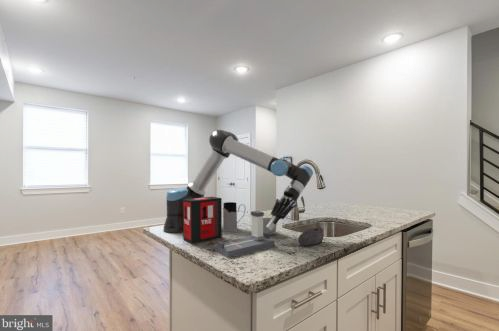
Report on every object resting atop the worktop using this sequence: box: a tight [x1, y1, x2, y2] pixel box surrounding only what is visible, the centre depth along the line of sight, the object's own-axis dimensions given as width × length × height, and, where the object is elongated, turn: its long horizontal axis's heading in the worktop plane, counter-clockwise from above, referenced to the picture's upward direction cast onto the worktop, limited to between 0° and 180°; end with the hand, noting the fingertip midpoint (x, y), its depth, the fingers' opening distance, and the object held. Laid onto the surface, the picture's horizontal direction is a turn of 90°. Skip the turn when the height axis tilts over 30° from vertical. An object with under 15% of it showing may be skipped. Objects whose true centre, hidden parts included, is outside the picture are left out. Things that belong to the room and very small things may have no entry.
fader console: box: [213, 232, 276, 258], centre depth 108 cm, size 12×24×4 cm, turn 125°
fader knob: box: [250, 210, 265, 241], centre depth 112 cm, size 5×4×12 cm
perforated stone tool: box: [297, 227, 324, 247], centre depth 112 cm, size 15×5×7 cm, turn 119°
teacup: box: [263, 216, 277, 236], centre depth 132 cm, size 14×11×8 cm
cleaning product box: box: [182, 196, 223, 245], centre depth 122 cm, size 16×9×20 cm, turn 129°
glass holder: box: [222, 201, 246, 232], centre depth 143 cm, size 9×14×15 cm, turn 117°
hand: (268, 228), depth 115 cm, fingers closed
